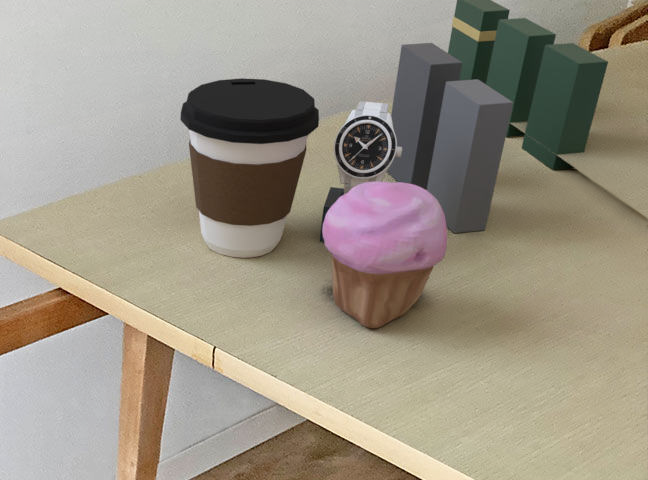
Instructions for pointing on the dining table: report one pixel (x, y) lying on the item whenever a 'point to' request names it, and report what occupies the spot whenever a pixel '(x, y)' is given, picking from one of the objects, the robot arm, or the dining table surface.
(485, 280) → the dining table surface
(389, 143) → the watch
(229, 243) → the coffee cup
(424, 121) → the grey books
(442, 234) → the cupcake
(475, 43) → the green tan-banded upright block
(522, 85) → the green books
